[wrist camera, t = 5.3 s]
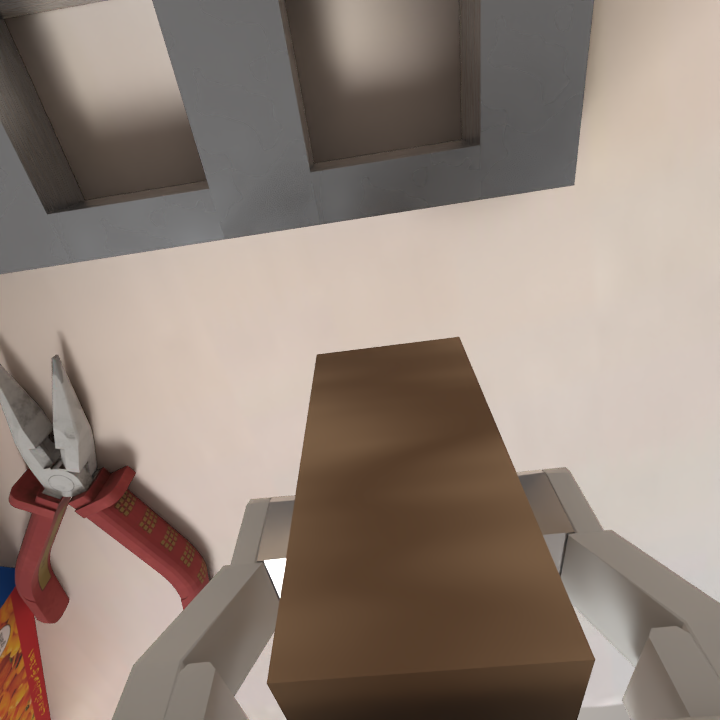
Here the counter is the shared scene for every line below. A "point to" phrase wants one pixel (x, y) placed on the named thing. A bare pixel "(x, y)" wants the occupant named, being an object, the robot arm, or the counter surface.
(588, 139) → the counter surface
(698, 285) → the counter surface
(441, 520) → the square peg
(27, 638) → the pasta box
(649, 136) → the counter surface
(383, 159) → the grey peg hole board
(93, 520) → the pliers
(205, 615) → the robot arm
